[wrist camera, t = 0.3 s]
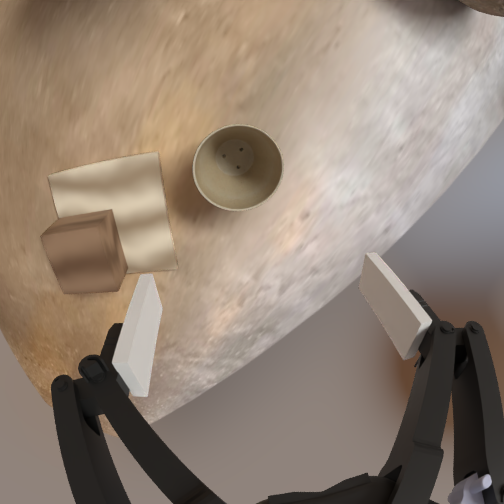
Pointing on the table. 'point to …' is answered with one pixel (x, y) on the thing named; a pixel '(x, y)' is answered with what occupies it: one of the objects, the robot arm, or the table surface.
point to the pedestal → (86, 253)
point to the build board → (123, 205)
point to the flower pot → (230, 175)
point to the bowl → (486, 6)
